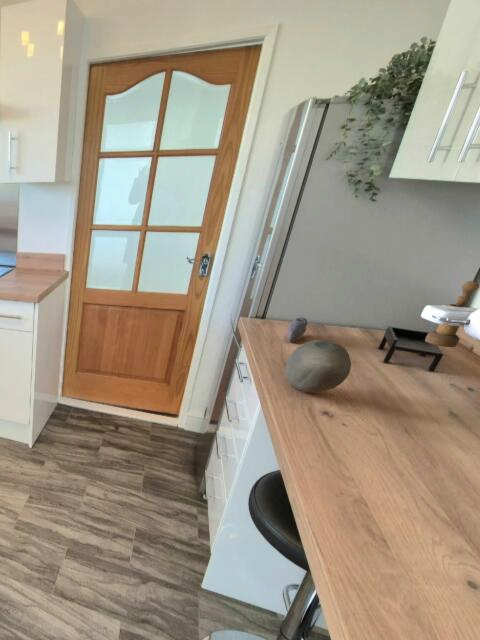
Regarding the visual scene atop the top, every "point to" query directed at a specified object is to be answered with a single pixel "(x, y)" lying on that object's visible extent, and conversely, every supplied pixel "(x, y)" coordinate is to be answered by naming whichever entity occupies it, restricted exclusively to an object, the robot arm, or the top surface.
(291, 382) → the cantaloupe
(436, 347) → the tray
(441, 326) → the mortar and pestle
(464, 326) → the robot arm
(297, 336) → the perforated stone tool
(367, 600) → the top surface
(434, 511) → the top surface
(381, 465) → the top surface
